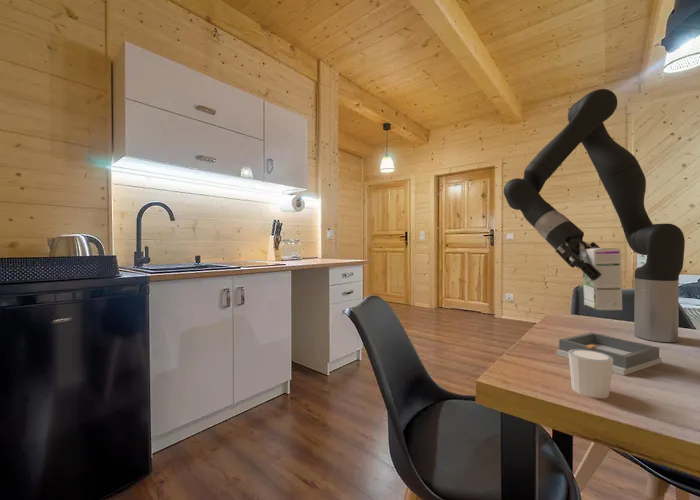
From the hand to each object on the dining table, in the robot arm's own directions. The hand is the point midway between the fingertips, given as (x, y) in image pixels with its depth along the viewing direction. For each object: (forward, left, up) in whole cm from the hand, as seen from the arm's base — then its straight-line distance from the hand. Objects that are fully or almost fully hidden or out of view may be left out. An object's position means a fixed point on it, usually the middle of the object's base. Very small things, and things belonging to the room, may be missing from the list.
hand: (607, 276), depth 75 cm
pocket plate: (-1, -1, -20) cm, 20 cm away
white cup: (+21, +7, -20) cm, 30 cm away
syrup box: (0, -1, -8) cm, 8 cm away
